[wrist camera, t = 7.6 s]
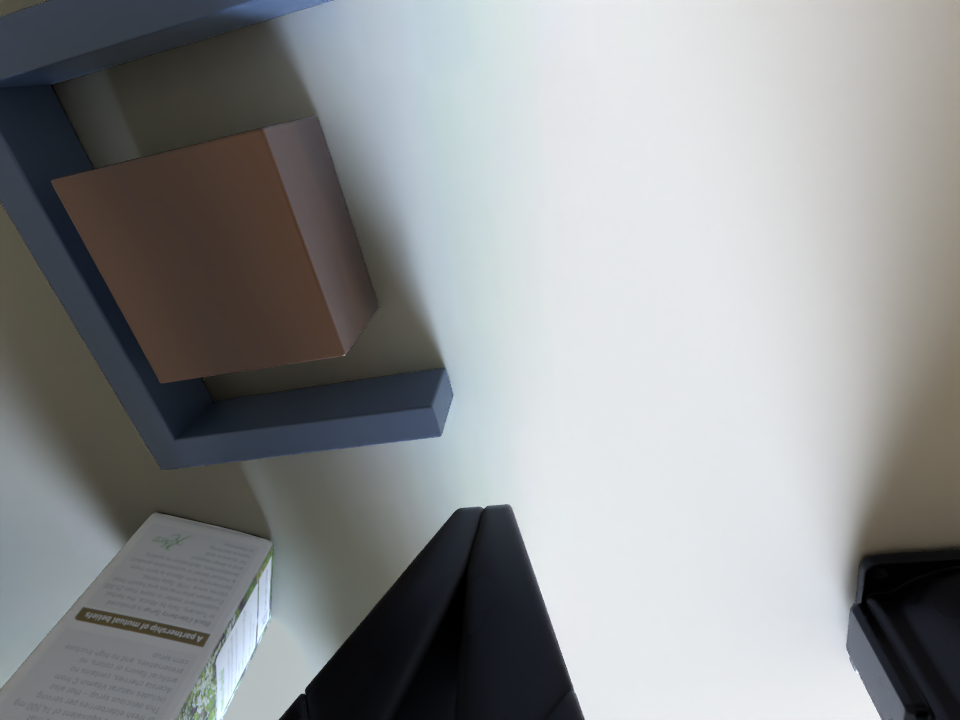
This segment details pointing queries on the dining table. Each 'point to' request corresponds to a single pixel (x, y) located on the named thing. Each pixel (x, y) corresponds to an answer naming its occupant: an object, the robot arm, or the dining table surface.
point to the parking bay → (85, 295)
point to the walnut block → (228, 251)
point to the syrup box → (153, 631)
